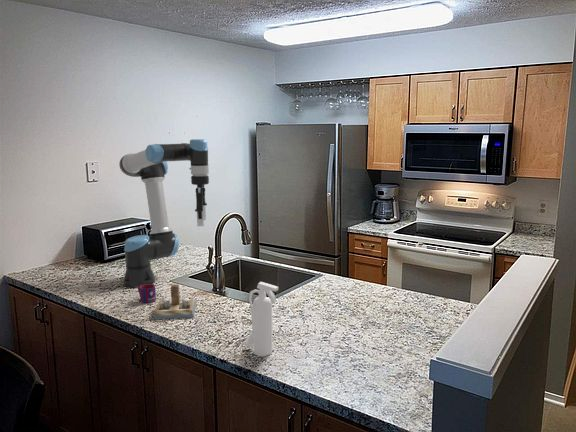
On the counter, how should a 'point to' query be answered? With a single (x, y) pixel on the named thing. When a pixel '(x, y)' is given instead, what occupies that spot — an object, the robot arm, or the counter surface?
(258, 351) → the fire extinguisher
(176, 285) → the peg stand base
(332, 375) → the counter surface
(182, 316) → the board
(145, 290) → the red patterned cup
